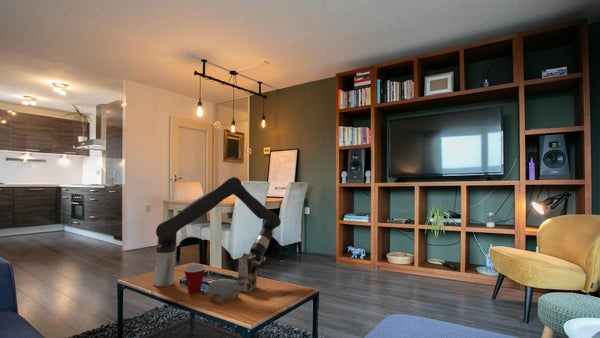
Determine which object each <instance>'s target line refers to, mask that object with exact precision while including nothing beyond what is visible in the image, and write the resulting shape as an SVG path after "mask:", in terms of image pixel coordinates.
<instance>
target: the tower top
mask: <svg viewBox="0 0 600 338" xmlns="http://www.w3.org/2000/svg"><path fill="white" fill-rule="evenodd" d="M236 290H238V280H237V279H236V280H234V279H228V278H221V277H220V278H219V279H215V280H214V281H212V282H210V283H208V292H209V293H214V294H220V295H225V296H226V295H228V294H230V293H232V292H234V291H236Z"/></svg>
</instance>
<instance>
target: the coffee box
mask: <svg viewBox="0 0 600 338" xmlns="http://www.w3.org/2000/svg"><path fill="white" fill-rule="evenodd" d="M241 257H242V256H241ZM241 257H239V258H238V273H237V275H238V276H237V277H238V278H237V281H238V290H239V292H245V293H249V292H251V291H252V290H254V289H255V288H257V281H258V280H257V279H258V277H257V275H258V274H257V273H258V270H257V271H256V273H255V274H254V275H252V274H251V271H252V269H253V267H254V266H255V263H254V261H255V259H256V257H257V256H256V257H254V256H248V255H247V256H244V257H242V258H241Z"/></svg>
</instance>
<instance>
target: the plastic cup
mask: <svg viewBox="0 0 600 338" xmlns="http://www.w3.org/2000/svg"><path fill="white" fill-rule="evenodd" d="M206 268H207V266H206V265H205V264H199V263H198V264H191V265H187V266H185V267H184V268H183V269H182V270H183V271H184V275H185V280H186V286H187V292H188V293H189V294H197V293H200V292H201V289H202V284H203V282H204V281H203V280H204V275H205V270H206Z"/></svg>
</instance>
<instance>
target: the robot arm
mask: <svg viewBox="0 0 600 338" xmlns="http://www.w3.org/2000/svg"><path fill="white" fill-rule="evenodd" d="M233 195H234V196H236V198H238V200H240V201H241V202H242V203H243V204H244V206H246V207H247V208H248V209H249V210H250V211H251V212H252V213H253V214H254V215H255V216H256V217H257V218H258V219H259V220H264V222H263V224H262V227H261V231H260V232H259V233H258V236H257V238H255V240H254V243H253V244H252V246H251V248H250V250H249V253H246V252H243V254H242V256H241V257H240V258H242V257H244V256H247V255H248V256H254V257H256V256H257V257H256V259H255V261H254V263H255V266H254V267H253V269H252V271H251V274H252V275H254V274H255V273H256V271H257V272H258V269H261V268H263V266H264V264H265V263H266V260H267V257H266V256H265V255H264V254H265V253H266V251H267V248H268V247H269V245H270V241H271V239H272V237H273V235H274V233H273V232H274V230H275V229H277V228H278V227H280V226H281V222H282V221H281V219H280V217H279V216H278V215H277V214H276V213H275V212H273V211H271V210H269V209H267V208H266V207H265V205H263V203H261V201H259V200H258V199H257V198H256V197H255V196H253V195H252V194H251V193H250V191H249V192H248V190H247V189H246V188H245V187H244V185H243V184H242V180H241V179H239V177H236V176H230V177H228V178H227V179H226V180H225V181H224V182H223V183H221V184H220V185H219V186H218V187H217V188H215V189H213V190H211V191H208V192H207V193H204V194H203V195H201V196H200V197H198V198H197V199H195V200H194V201H192V202H191V203H190V204H188V205H187V206H185V208H183V209H181V211H180V212H178V213H177V214H176V215H173V217H171V218H169V219H167V220H163V221H162V222H160V223H159V224H158V225H157V227H156V229H155V234H156V236H157V244H156V249H155V251H156V253H155V266H154V270H153V272H154V275H153V278H154V279H153V285H154V286H155V287H159V288H160V287H161V288H163V287H169V286H173V285H174V283H175V267H176V266H175V265H176V263H175V262H176V247H177V236H178V235H177V232H179V231H180V230H181V229H183V228H184V227H186V226H187V225H188V224H191V223H192V222H194V221H196V220H198V219H200V218H202V217H204V216H205V215H206V214H207V213H209V212H211V211H212V210H213V209H214V208H215V207H216V206H218V205H219V204H220V203H221V202H222V201H224V200H225V199H228V198H229V197H231V196H233Z"/></svg>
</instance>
